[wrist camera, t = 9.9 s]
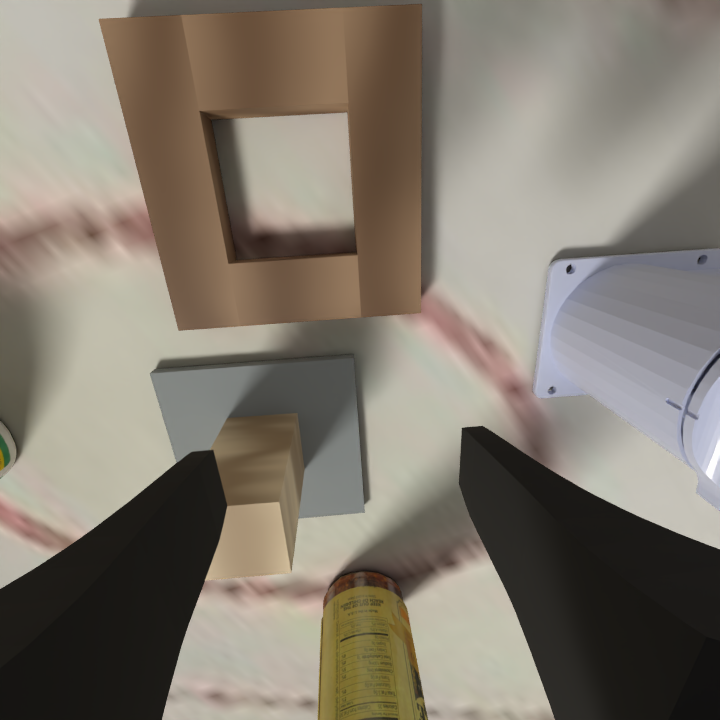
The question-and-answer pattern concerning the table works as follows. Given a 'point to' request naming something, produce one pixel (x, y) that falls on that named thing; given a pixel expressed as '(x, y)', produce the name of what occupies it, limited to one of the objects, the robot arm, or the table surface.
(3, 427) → the supplement bottle
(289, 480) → the beech block
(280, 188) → the table surface
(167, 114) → the brown wooden square frame
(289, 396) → the grey square plate
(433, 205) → the table surface
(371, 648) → the sauce bottle
